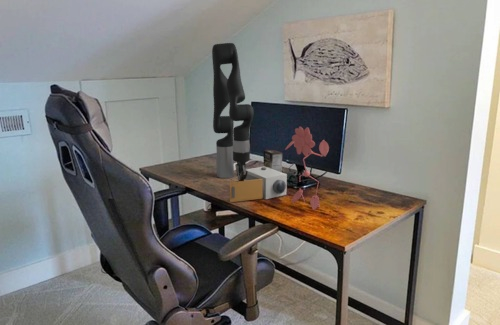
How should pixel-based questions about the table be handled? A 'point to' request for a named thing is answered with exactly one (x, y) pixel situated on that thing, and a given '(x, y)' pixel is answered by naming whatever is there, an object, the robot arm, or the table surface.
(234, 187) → the side door
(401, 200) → the table surface
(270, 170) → the camera body
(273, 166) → the coffee box
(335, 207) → the table surface
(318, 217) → the table surface
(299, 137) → the pink flower figure
